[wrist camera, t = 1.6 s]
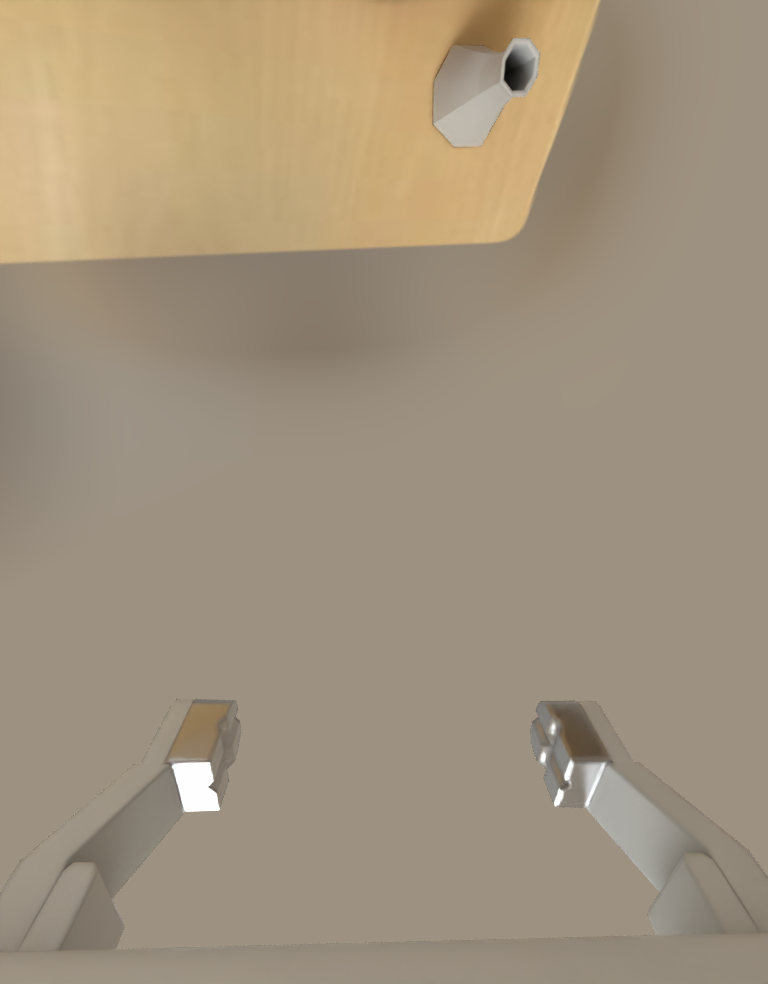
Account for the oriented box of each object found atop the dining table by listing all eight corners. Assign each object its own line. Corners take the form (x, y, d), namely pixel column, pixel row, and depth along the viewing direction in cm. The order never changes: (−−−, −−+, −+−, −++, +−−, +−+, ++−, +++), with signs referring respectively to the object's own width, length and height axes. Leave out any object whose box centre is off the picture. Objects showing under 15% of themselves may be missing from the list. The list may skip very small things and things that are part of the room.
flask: (420, 133, 38) (461, 110, 30) (446, 26, 34) (499, -31, 26) (484, 161, 40) (536, 147, 32) (514, 64, 37) (582, 22, 29)
